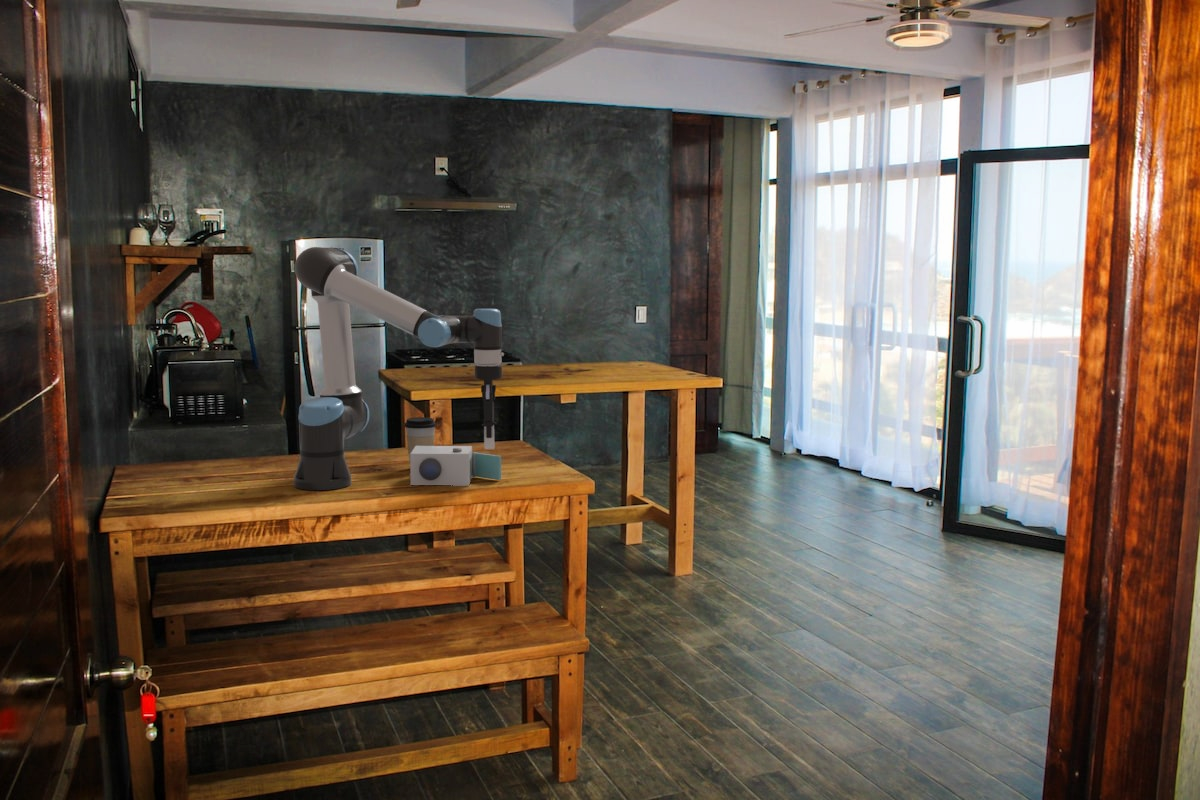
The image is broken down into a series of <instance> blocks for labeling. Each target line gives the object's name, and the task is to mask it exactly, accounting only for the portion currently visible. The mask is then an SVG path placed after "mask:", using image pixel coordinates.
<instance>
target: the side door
mask: <svg viewBox="0 0 1200 800" xmlns="http://www.w3.org/2000/svg"><path fill="white" fill-rule="evenodd" d="M476 477H477V478H483V479H490V480H495V481H497V480H498V481H501V480H502V456H501V455H498V454H497V455H496V454H489V453H481V452H476V451H472V478H476Z"/></svg>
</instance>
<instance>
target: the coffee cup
mask: <svg viewBox="0 0 1200 800" xmlns="http://www.w3.org/2000/svg"><path fill="white" fill-rule="evenodd" d="M403 427H405V431H406V435H405V437H406V444H407V446H406V447H407V453H408V457H409V460H410V453H411V452H412V450H413V449H414V448H415V446H435V444H434V443H435V430H436V427H437V423H436V422H435V420H434V418H432V417H428V416H427V417H425V416H423V417H422V416H421V417H419V416H418V417H409V418H407V419H406V422H404V425H403Z"/></svg>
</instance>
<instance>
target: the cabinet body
mask: <svg viewBox="0 0 1200 800" xmlns="http://www.w3.org/2000/svg"><path fill="white" fill-rule="evenodd" d="M472 452H473V446H472V445H434V446H415V448H414V449H413V450H412V452H411V453H410V459H409V465H410V470H409V471H410V473H409V474H410V486H411V485H451V486H450V487H469V486H470V485H469V484H470V483H471V480H472V478H473V477H472ZM452 485H453V486H452Z"/></svg>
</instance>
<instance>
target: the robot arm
mask: <svg viewBox="0 0 1200 800" xmlns="http://www.w3.org/2000/svg"><path fill="white" fill-rule="evenodd" d="M294 273H295V277H296V278H297V280H298V282H299V283H300V284H302V286H303V287H305V288H307V289H309V290H310V291H311V298H312V299H313V300H314V301H315V302H316V303H317V310H318V319H319V320H318V322H319V333H320V335H319V336H320V343H321V347H320V348H321V356H322V359H321V360H322V368H323V382H324V387H323V389H322V390H321V391H320V392H319V397H316V398H311V399H310V398H309V399H307V400H305V401H303V402H301V404H300V405H299V408H298V415H297V416H298V417H297V419H298V430H299V431H298V433H299V434H298V435H299V460H298V464H297V467H296V470H295V473H294V476H293V487H295V488H296V489H298V490H299V489H300V490H306V491H327V490H328V491H329V490H338V489H342V488H346V487H349V486H350V485H351V484H352V476H351V471H350V469H349V466H348V464H347V460H346V458H345V440H347V439H351V438H354V437H356V436H357V435H359V434H360V433H361V432H363V431H364V430H365V428H366V427H367V425H368V423H369V421H370V408H369V405H368V404H367V403H366V402H365V401H364V399H363V392H362V389H361V388H360V387H358V385H356V382H357V381H356V371H355V358H354V347H353V346H354V345H353V337H352V324H351V323H352V321H351V310H350V305H351V306H353V307H355V308H357V309H359V310H361V311H363V312H365V313H367V314H369V315H371V316H372V317H375V318H377V319H379V320H381V321H383V322H385V323H387V324H389V325H391V326H393V327H395V328H398V329H399V330H401V331H403V332H405V333H407V334H408V335H409V334H410V335H411V336H414V337H416V338H417V339H419V340H420V342H421V343H422V344H423V345H424V346H426V347H429V348H439V347H443V346H445V345H451V344H467V343H468V344H473V345H474V347H473V356H474V357H473V358H474V359H473V361H474V362H473V363H474V364H476V365H475V366H474V378H475V380H480V381H481V380H482V381H483V384H481V386H480V392H481V398H482V399H481V401H482V402H483V405H482V406H483V423H481V427H483V443H484V445H483V446H484V447H483V448H484V450H495V426H496V425H497V422H495V401H496V391H497V385H496V384H494V380H495V381H496V380H501V379H502V378H503V367H502V362H503V361H502V357H504V355H505V353H504V352H502V329H503V325H502V313H501V311H500V310H499V309H497V308H475V309H474V310H473V314H472V315H447V314H445V315H443V314H442V315H441V314H440V315H436V314H435V313H432V312H430V311H428V310H426V309H425V308H422V307H421V306H418V305H416V304H415V303H412V302H410V301H408V300H406V299H404V298H402V297H400V296H398V295H396V294H394V293H392V292H390V291H388V290H386V289H385V288H384V289H383V288H381V287H379V286H378V285H375V284H373V283H371V282H370V281H368V280H366V279H364V278H361V277H359V267H358V262H357V261H356V259H355V257H354V256H353V255H352V254H351V253H350V252H348V251H346V250H344V249H340V248H338V247H321V246H313V247H308V248H307V249H304V250H302V251H301V253H300V254H298V256H297V257H296V260H295V262H294Z"/></svg>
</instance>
